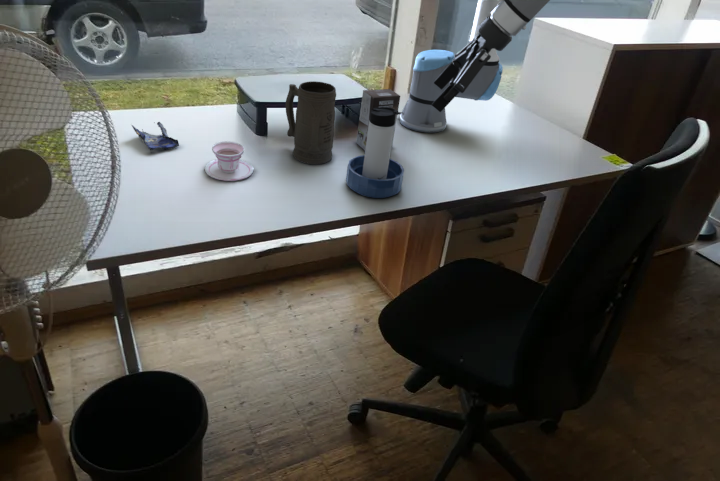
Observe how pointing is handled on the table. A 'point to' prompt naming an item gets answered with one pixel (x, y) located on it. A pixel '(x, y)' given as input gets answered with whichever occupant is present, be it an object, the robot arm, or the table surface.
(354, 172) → the bowl
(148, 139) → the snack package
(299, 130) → the beer stein
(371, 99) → the cookie box
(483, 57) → the robot arm
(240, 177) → the teacup
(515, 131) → the table surface
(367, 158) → the travel mug
